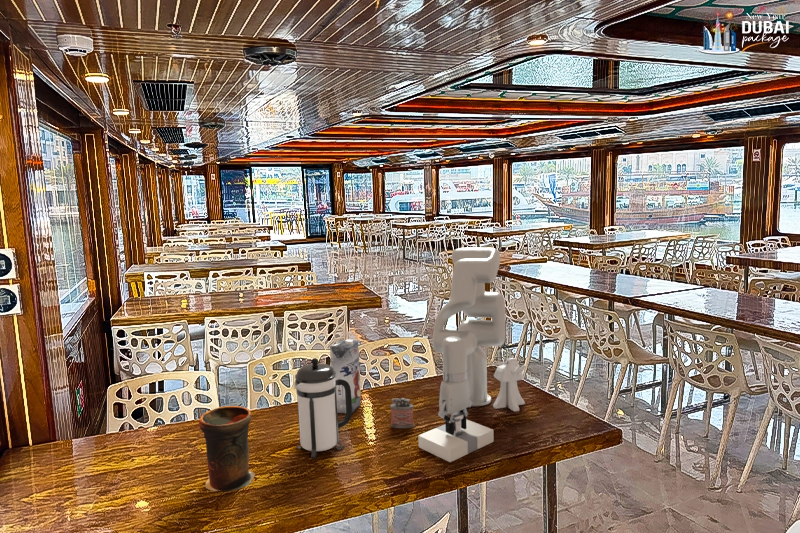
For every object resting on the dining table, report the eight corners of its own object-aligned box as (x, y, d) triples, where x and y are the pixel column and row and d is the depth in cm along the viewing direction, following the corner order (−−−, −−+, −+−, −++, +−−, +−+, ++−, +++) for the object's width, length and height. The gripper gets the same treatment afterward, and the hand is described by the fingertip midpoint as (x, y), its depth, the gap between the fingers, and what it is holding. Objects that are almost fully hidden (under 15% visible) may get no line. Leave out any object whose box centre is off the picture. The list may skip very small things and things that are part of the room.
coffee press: (338, 461, 175) (333, 366, 170) (288, 457, 178) (283, 364, 174) (353, 436, 191) (349, 350, 187) (308, 434, 195) (303, 348, 190)
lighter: (414, 424, 200) (413, 396, 198) (413, 428, 197) (412, 400, 195) (391, 423, 201) (390, 396, 199) (390, 427, 197) (389, 400, 196)
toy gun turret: (484, 402, 217) (483, 356, 215) (515, 397, 221) (515, 352, 219) (498, 414, 206) (498, 365, 204) (531, 408, 210) (531, 361, 207)
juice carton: (330, 413, 211) (327, 343, 208) (341, 403, 221) (338, 335, 217) (353, 415, 209) (349, 344, 205) (363, 405, 219) (360, 336, 215)
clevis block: (450, 462, 171) (449, 449, 171) (418, 447, 182) (418, 435, 181) (493, 441, 184) (493, 429, 184) (461, 428, 195) (461, 417, 194)
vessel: (236, 462, 176) (232, 400, 173) (265, 477, 167) (261, 412, 164) (193, 482, 165) (188, 416, 162) (222, 499, 156) (217, 430, 153)
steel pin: (447, 444, 184) (446, 414, 182) (456, 439, 186) (456, 410, 185) (457, 448, 180) (456, 418, 179) (466, 444, 183) (466, 414, 182)
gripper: (464, 367, 188) (465, 419, 191) (427, 379, 177) (428, 435, 180) (482, 372, 183) (482, 426, 185) (444, 385, 172) (445, 442, 174)
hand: (456, 429), depth 183 cm, fingers open, 4 cm apart
